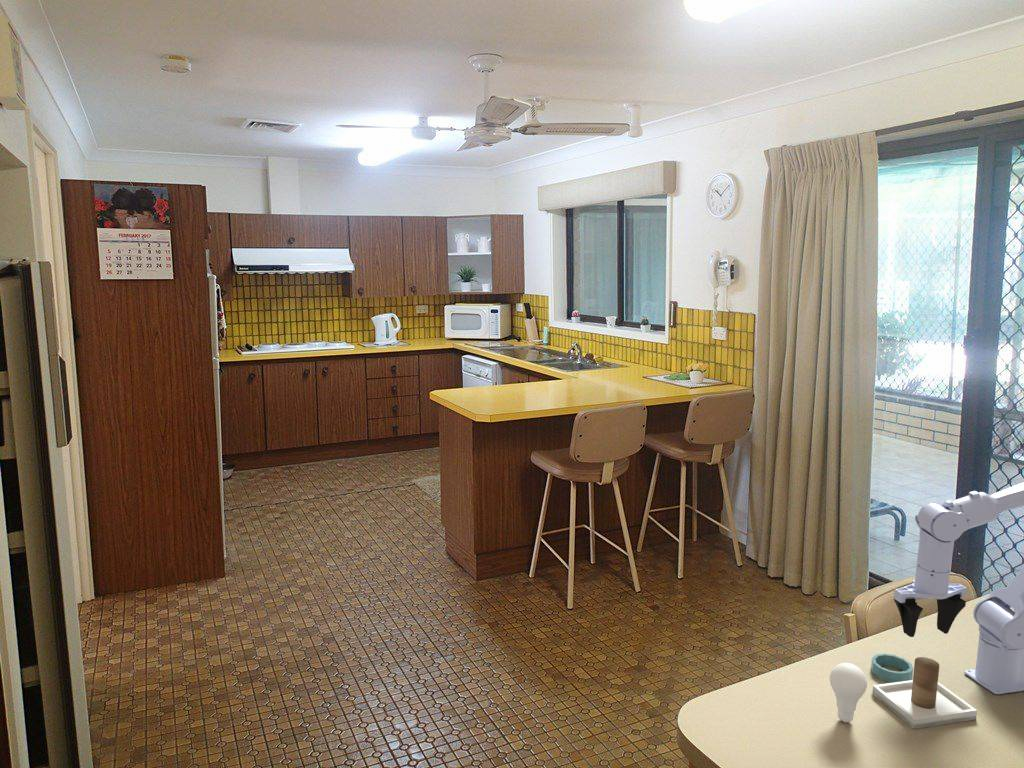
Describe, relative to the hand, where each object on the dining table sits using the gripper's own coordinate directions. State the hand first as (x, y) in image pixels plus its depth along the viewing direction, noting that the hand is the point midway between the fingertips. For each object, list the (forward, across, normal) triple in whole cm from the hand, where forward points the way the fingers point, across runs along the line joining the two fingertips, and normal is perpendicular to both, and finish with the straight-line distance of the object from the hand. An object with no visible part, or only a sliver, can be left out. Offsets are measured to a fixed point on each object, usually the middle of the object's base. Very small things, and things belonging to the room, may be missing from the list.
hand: (925, 632), depth 147 cm
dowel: (+10, +5, +7) cm, 13 cm away
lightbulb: (+11, +22, +8) cm, 26 cm away
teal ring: (+10, +3, -4) cm, 12 cm away
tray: (+10, +5, +7) cm, 14 cm away
